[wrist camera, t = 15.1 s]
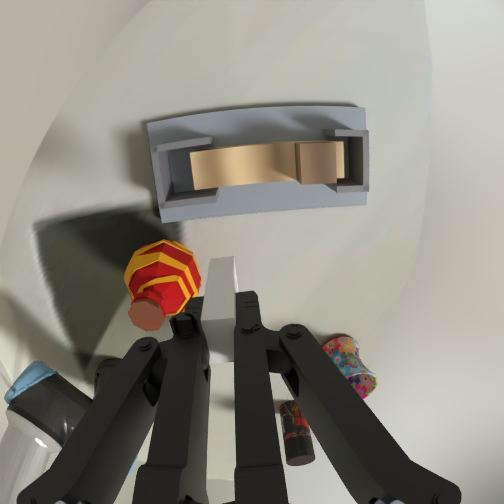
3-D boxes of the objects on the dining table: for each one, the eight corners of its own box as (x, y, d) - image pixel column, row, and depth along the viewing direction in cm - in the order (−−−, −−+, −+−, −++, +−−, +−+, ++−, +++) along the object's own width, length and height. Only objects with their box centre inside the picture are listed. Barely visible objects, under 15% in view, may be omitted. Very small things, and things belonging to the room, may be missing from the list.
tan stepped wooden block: (199, 183, 36) (190, 195, 30) (195, 150, 34) (184, 154, 28) (334, 172, 36) (353, 182, 30) (332, 140, 34) (352, 142, 28)
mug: (338, 325, 49) (356, 366, 39) (368, 342, 51) (387, 380, 42) (295, 364, 52) (304, 407, 43) (327, 378, 55) (339, 417, 45)
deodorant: (305, 411, 60) (315, 462, 46) (281, 415, 60) (288, 467, 46) (303, 398, 57) (315, 453, 44) (278, 403, 58) (285, 458, 44)
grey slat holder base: (164, 219, 39) (152, 236, 33) (150, 123, 34) (133, 122, 28) (362, 202, 39) (381, 215, 34) (360, 108, 34) (381, 105, 28)
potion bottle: (177, 211, 39) (145, 255, 25) (219, 265, 43) (212, 329, 29) (127, 249, 41) (85, 303, 27) (169, 297, 45) (146, 362, 31)
